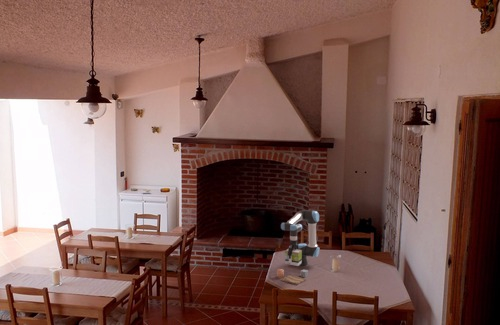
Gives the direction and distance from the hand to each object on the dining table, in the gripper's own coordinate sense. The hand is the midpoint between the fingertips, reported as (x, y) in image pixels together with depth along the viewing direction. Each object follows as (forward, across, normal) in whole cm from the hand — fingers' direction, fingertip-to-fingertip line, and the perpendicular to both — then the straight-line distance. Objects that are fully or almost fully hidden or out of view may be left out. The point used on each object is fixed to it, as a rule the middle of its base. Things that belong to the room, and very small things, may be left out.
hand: (293, 260), depth 466 cm
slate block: (+22, -18, +2) cm, 29 cm away
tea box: (+4, 0, 0) cm, 4 cm away
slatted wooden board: (+22, 0, 0) cm, 22 cm away
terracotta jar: (+22, +1, -16) cm, 27 cm away
